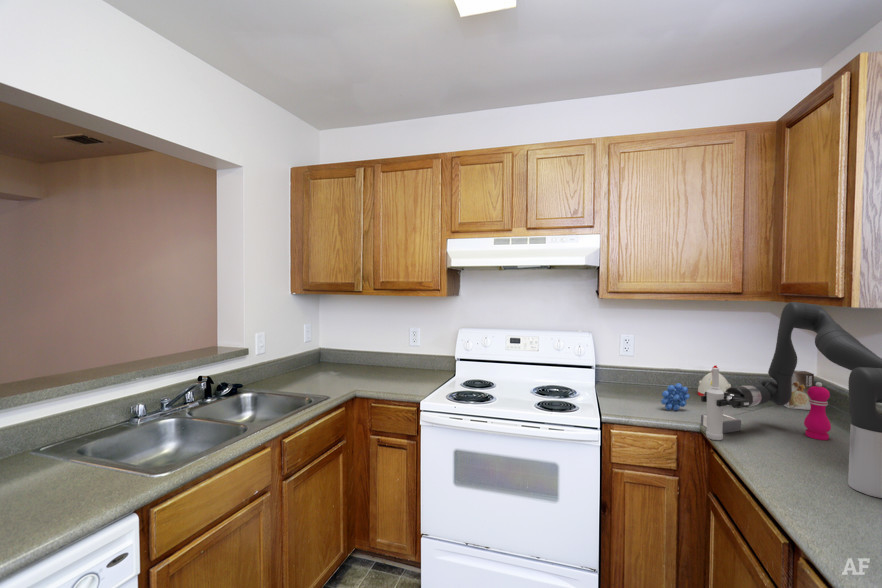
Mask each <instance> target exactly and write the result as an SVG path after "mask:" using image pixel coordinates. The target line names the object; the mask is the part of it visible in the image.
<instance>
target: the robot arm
mask: <svg viewBox="0 0 882 588" xmlns="http://www.w3.org/2000/svg"><path fill="white" fill-rule="evenodd" d="M779 318H780V319H779V324H778V330H777V335H776V336H777V337H776V342H775V343H776V345H775V349H774V354H773V357H772V359H771V362H770V365H769V368H768V371H767V375H769V376H770V378H772V380H774V381H775V382H774V381H772V380H769V379H762V380H760V381H758V382H756V383H755V384H752V385H740V386H739V385H738V386H731V387H730V388H728V389H727V390H726V391H725V392H723V393H724V399H721V400H717V404H716V405H717V406H718V407H721V406H723V407H731V408H734V409H742V408H749V407H753V406H756V405H763V404H766V403H768V402H771V403H773V404H775V405H777V406H784V405H785V404H787V403H788V402H789V401H790V399H791V396H792V376H793V373H794V371H796V368H797V365H798V356H797V353H796V350H795V347H794V345H793V342H792V333H793V330H794V329H799V330H807V331H812V332H815V333H816V335H815V338H814V345H815V347H816V349H817V350H818V351H819V353H821V354H822V355H823V356H824V357H825V358H826V359H827V360H828V361H830V362H831V363H833V364H835V365H837V366H839V367H842V368H844V369H847V370H849V371H850V374H849V376H848V409H849V410H848V411H849V416H850V431H849V455H848V475H847V478H848V479H847V481H848V483H847V484H848V485H847V486H849V487H850V488H851V489H853V490H855V491H857V492H860V493H862V494H865V495H867V496H871V497H875V498H880V499H882V413H881V412H879V411H878V410H877V404H882V357H880V356H878V355H877V354H876V353H874V352H873V351H872V350H871V349H869V348H868V347H867V346H866V345H864V344H863V343H861V342H860V340H858V339H857V338H856V337H854V335H852V334H851V333H850V332H849V331H847V330H845V329H844V328H843V327H842V326H841V325H840V324H839V323H837V322H836V321H835V320H834V318H832V316H831V315H830V314H829V313H828V311H827V310H825V308H823V307H822V306H820V305H817V304H814V303H813V304H812V303H805V302H796V301H790V302H787V304H785V306H784V307H783V309H782V311H781V314H780V317H779ZM700 401H701V402H702V403H707V392H705V395H703V396H700Z"/></svg>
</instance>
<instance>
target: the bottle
mask: <svg viewBox="0 0 882 588" xmlns="http://www.w3.org/2000/svg"><path fill="white" fill-rule="evenodd" d="M711 372H712V387H711V388H710V389H709V390H707V402H706V414H707V427H706V430H705V436H706V438H707V439H710V440H713V441H723V438H724V433H722V427H723V414H724V406H721V407H718V406H717V405H716V404H717V400H721V399H724V393H723V392H722V391H721V390H720V388H719V373H720V368H713V367H712V369H711Z"/></svg>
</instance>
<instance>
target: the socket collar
mask: <svg viewBox="0 0 882 588" xmlns="http://www.w3.org/2000/svg"><path fill="white" fill-rule="evenodd" d="M700 425H701V426H703V427H705V428H707V413H705V414H701V415H700ZM741 428H742V419H739V418H735V417H733V416H730V415H727V414H724V413H723V427H722V433H723V434H727V433H736V432H740V431H742V429H741Z"/></svg>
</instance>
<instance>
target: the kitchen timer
mask: <svg viewBox="0 0 882 588" xmlns="http://www.w3.org/2000/svg"><path fill="white" fill-rule="evenodd" d="M712 368H718V366H717V365H715V364H714V365H713V366H712ZM711 387H712V371H711V372H709V373H707V374H706V375H704V376H703V378H702V379H699V382H698V388H697V395H698V396H699V397H701V396H703V395H705V392H707V390H709V389H710V388H711ZM730 387H732V386H731V383H729V381H728V380H727V379H726V377H725V376H724V375H723V374H722V373H720V372H719V388H720V390H721V391H722V392H725V391H726V390H727V389H728V388H730Z"/></svg>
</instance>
